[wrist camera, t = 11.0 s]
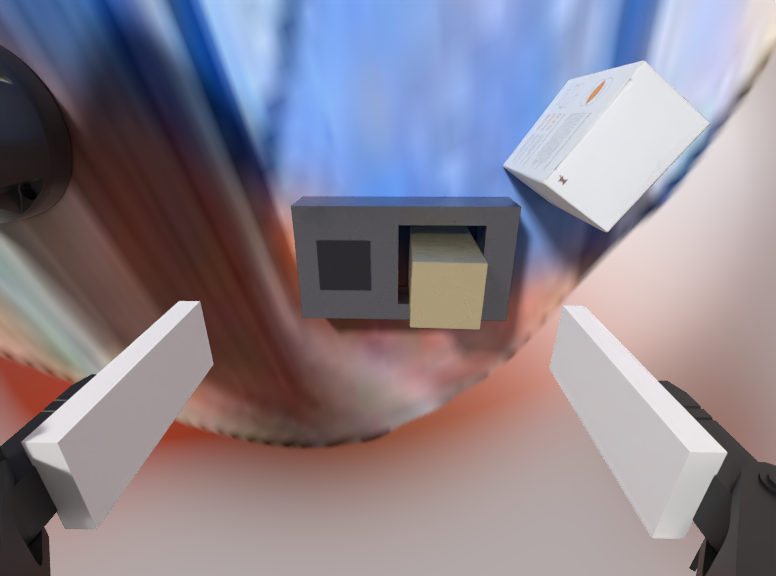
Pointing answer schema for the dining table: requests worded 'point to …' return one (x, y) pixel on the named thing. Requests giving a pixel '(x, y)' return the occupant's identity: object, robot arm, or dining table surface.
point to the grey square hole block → (391, 251)
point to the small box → (606, 142)
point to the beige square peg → (445, 277)
